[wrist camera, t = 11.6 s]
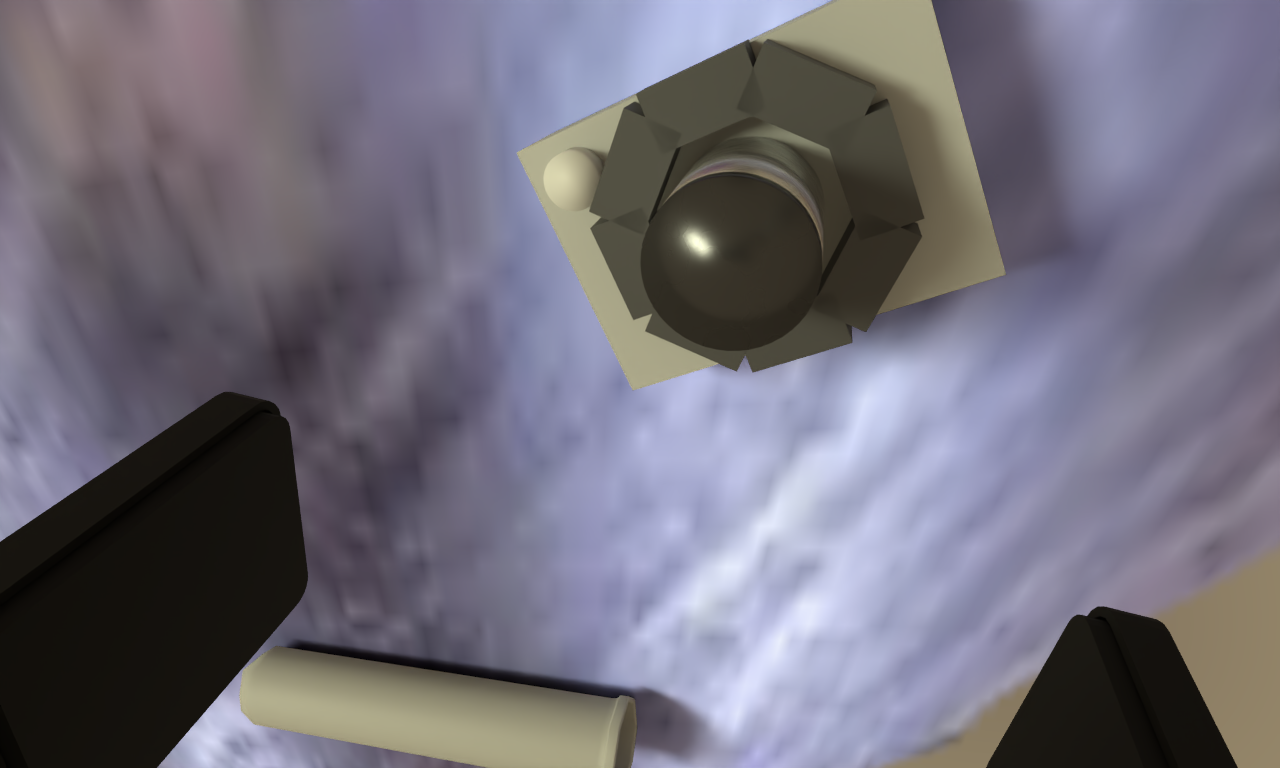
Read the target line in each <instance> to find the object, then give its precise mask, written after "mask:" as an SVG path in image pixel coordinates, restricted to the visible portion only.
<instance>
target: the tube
mask: <svg viewBox="0 0 1280 768" xmlns="http://www.w3.org/2000/svg"><path fill="white" fill-rule="evenodd" d="M239 696H240V704H241V711H242V712H243V713H244V714H245V715H246V716H247V717H248V719H249V720H250V721H251V722H252V723H253V724H255V725H261V726H266V727H272V728H277V729H282V730H288V731H293V732H299V733H304V734H309V735H315V736H320V737H326V738H331V739H336V740H342V741H347V742H353V743H358V744H364V745H369V746H374V747H380V748H385V749H391V750H396V751H401V752H407V753H412V754H418V755H423V756H428V757H434V758H439V759H445V760H450V761H456V762H461V763H466V764H472V765H477V766H483V767H488V768H631V766H632V762H633V755H634V748H635V741H636V733H637V719H636V707H635V699H634V698H631V697H629V696H622V695H620V696H619V697H618V698H607V697H601V696H594V695H588V694H581V693H575V692H569V691H562V690H556V689H549V688H543V687H537V686H530V685H524V684H517V683H511V682H504V681H498V680H492V679H485V678H479V677H472V676H466V675H460V674H453V673H447V672H440V671H434V670H427V669H421V668H415V667H408V666H402V665H395V664H389V663H383V662H376V661H370V660H363V659H357V658H350V657H344V656H338V655H331V654H325V653H318V652H312V651H306V650H299V649H293V648H286V647H280V646H275V647H273V648H272V649H270V650H269V651H267V652H265V653H264V654H262V655H261V656H260V657H259V658H257V659H256V660H255V661H254V662H253V663H251V664H250V665H249V666H248V667H247V668H245V669H244V670H243V674H242V681H241V688H240V695H239Z"/></svg>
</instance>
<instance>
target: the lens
mask: <svg viewBox="0 0 1280 768" xmlns="http://www.w3.org/2000/svg"><path fill="white" fill-rule="evenodd" d="M824 220H825V200H824V193H823V190H822V186H821V183H820V181H819V178H818V176H817V174H816V172H815V171H814V169H813V167H812V166H811V165H810V164H809V162H808V161H807V160H806V159H805V158H804V157H803V156H802V155H801V154H800V153H799V152H798V151H796V150H795V149H793V148H792V147H790V146H788V145H787V144H785V143H783V142H780V141H777V140H775V139H772V138H767V137H761V136H743V137H738V138H733V139H730V140H727V141H724V142H722V143H720V144H718V145H716V146H714V147H712V148H711V149H710V150H708V151H707V152H705V153H704V154H703V155H702V156H701V157H700V158H699V159H698V160H697V161H696V162H695V164H694V165H693V166H692V167H691V168H690V170H689V171H688V172H687V174H686V175H685V176H684V178H683V179H682V180H681V181H680V183H679V184H678V185H677V187H676V188H675V189H674V191H673V192H672V193H671V194H670V196H669V197H668V198H667V200H666V201H665V202H664V204H663V205H662V206H661V207H660V209H659V210H658V211H657V213H656V214H655V216H654V217H653V219H652V220H651V222H650V224H649V226H648V229H647V231H646V233H645V236H644V240H643V243H642V249H641V260H640V267H641V276H642V280H643V284H644V288H645V291H646V293H647V296H648V298H649V300H650V302H651V304H652V306H653V307H654V309H655V310H656V312H657V313H658V315H659V316H660V317H661V318H662V319H663V320H664V321H665V323H666V324H667V325H668V326H670V327H671V328H672V329H673V330H674V331H675V332H677V333H678V334H680V335H681V336H683V337H684V338H686V339H688V340H690V341H692V342H694V343H696V344H699V345H702V346H704V347H708V348H712V349H716V350H724V351H742V350H750V349H754V348H759V347H762V346H765V345H767V344H770V343H772V342H774V341H776V340H778V339H780V338H782V337H783V336H785V335H786V334H787V333H789V332H790V331H791V330H792V329H794V328H795V327H796V326H797V325H798V324H799V323H800V322H801V321H802V319H803V318H804V317H805V316H806V314H807V313H808V311H809V310H810V308H811V306H812V305H813V303H814V300H815V298H816V296H817V293H818V290H819V287H820V283H821V276H822V263H823V242H824Z"/></svg>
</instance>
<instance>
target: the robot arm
mask: <svg viewBox="0 0 1280 768" xmlns="http://www.w3.org/2000/svg"><path fill="white" fill-rule="evenodd" d="M307 581H308V571H307V563H306V555H305V546H304V538H303V530H302V522H301V514H300V505H299V497H298V489H297V481H296V473H295V464H294V456H293V448H292V440H291V432H290V426H289V422H288V421H287V420H286V418H284V417H282V416H281V415H280V411H279V409H278V407H277V406H276V405H275V404H274V403H272V402H270V401H266V400H262V399H258V398H254V397H250V396H246V395H242V394H238V393H234V392H223V393H221V394H219V395H217V396H215V397H214V398H212V399H211V400H209V401H208V402H206V403H205V404H203V405H202V406H200V407H199V408H197V409H196V410H194V411H193V412H191V413H190V414H188V415H187V416H186V417H184V418H183V419H181V420H180V421H178V422H177V423H175V424H174V425H172V426H171V427H169V428H168V429H166V430H165V431H163V432H162V433H160V434H159V435H157V436H156V437H154V438H153V439H151V440H150V441H149V442H147V443H146V444H144V445H143V446H141V447H140V448H138V449H137V450H135V451H134V452H132V453H131V454H129V455H128V456H126V457H125V458H123V459H122V460H120V461H119V462H117V463H116V464H115V465H113V466H112V467H110V468H109V469H107V470H106V471H104V472H103V473H101V474H100V475H98V476H97V477H95V478H94V479H92V480H91V481H89V482H88V483H86V484H85V485H83V486H82V487H81V488H79V489H78V490H76V491H75V492H73V493H72V494H70V495H69V496H67V497H66V498H64V499H63V500H61V501H60V502H58V503H57V504H55V505H54V506H52V507H51V508H49V509H48V510H46V511H45V512H44V513H42V514H41V515H39V516H38V517H36V518H35V519H33V520H32V521H30V522H29V523H27V524H26V525H24V526H23V527H21V528H20V529H18V530H17V531H15V532H14V533H12V534H11V535H10V536H8V537H7V538H5V539H4V540H2V541H1V542H0V768H157V767H158V766H159V765H160V764H161V762H162V761H163V760H164V759H165V758H166V757H167V755H168V754H169V753H170V752H171V751H172V750H173V748H174V747H175V746H176V745H177V744H178V743H179V741H180V740H181V739H182V738H183V737H184V736H185V734H186V733H187V732H188V731H189V730H190V729H191V727H192V726H193V725H194V724H195V723H196V722H197V720H198V719H199V718H200V717H201V716H202V715H203V714H204V712H205V711H206V710H207V709H208V708H209V707H210V705H211V704H212V703H213V702H214V701H215V700H216V698H217V697H218V696H219V695H220V694H221V693H222V691H223V690H224V689H225V688H226V687H227V686H228V684H229V683H230V682H231V681H232V680H233V679H234V677H235V676H236V675H237V674H238V673H239V672H240V670H241V669H242V668H243V667H244V666H245V665H246V664H247V662H248V661H249V660H250V659H251V658H252V657H253V655H254V654H255V653H256V652H257V651H258V650H259V648H260V647H261V646H262V645H263V644H264V643H265V641H266V640H267V639H268V638H269V637H270V636H271V634H272V633H273V632H274V631H275V630H276V629H277V627H278V626H279V625H280V624H281V623H282V622H283V620H284V619H285V618H286V617H287V616H288V615H289V614H290V612H291V611H292V610H293V609H294V608H295V607H296V605H297V604H298V603H299V601H300V600H301V598H302V596H303V594H304V592H305V589H306V586H307ZM986 768H1238V767H1237V765H1236V763H1235V761H1234V759H1233V757H1232V755H1231V753H1230V752H1229V749H1228V748H1227V745H1226V743H1225V742H1224V739H1223V738H1222V735H1221V733H1220V732H1219V730H1218V728H1217V726H1216V724H1215V722H1214V720H1213V718H1212V716H1211V714H1210V712H1209V710H1208V708H1207V706H1206V704H1205V702H1204V700H1203V698H1202V696H1201V694H1200V692H1199V690H1198V688H1197V686H1196V684H1195V682H1194V680H1193V678H1192V676H1191V674H1190V672H1189V670H1188V668H1187V666H1186V664H1185V662H1184V660H1183V658H1182V656H1181V654H1180V652H1179V650H1178V648H1177V646H1176V644H1175V642H1174V640H1173V638H1172V636H1171V634H1170V632H1169V631H1168V629H1167V628H1166V627H1165V625H1164V624H1163V623H1162V622H1160V621H1159V620H1157V619H1153V618H1149V617H1145V616H1141V615H1137V614H1133V613H1128V612H1124V611H1120V610H1116V609H1112V608H1108V607H1096V608H1095V609H1093V610H1092V611H1091V612H1090V613H1089V614H1088V616H1084V615H1076V616H1074V617H1072V619H1071V620H1070V621H1069V623H1068V624H1067V626H1066V628H1065V630H1064V631H1063V633H1062V635H1061V637H1060V638H1059V640H1058V642H1057V644H1056V645H1055V647H1054V649H1053V651H1052V652H1051V654H1050V656H1049V658H1048V659H1047V661H1046V663H1045V665H1044V666H1043V668H1042V670H1041V672H1040V673H1039V675H1038V677H1037V679H1036V680H1035V682H1034V684H1033V686H1032V687H1031V689H1030V691H1029V693H1028V694H1027V696H1026V698H1025V699H1024V701H1023V703H1022V705H1021V706H1020V709H1019V710H1018V712H1017V713H1016V715H1015V717H1014V719H1013V720H1012V722H1011V724H1010V726H1009V727H1008V730H1007V731H1006V733H1005V734H1004V736H1003V738H1002V740H1001V741H1000V743H999V745H998V747H997V748H996V750H995V752H994V754H993V755H992V757H991V759H990V761H989V763H988V765H987V767H986Z"/></svg>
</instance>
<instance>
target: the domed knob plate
mask: <svg viewBox="0 0 1280 768" xmlns="http://www.w3.org/2000/svg"><path fill="white" fill-rule="evenodd" d="M743 136H761V137H767V138H772V139H775V140H777V141H780V142H783V143H785V144H787V145H788V146H790V147H792V148H793V149H795V150H796V151H798V152H799V153H800V154H801V155H802V156H803V157H804V158H805V159H806V160H807V161H808V162H809V164H810V165H811V166H812V167H813V169H814V171H815V172H816V174H817V176H818V178H819V181H820V183H821V186H822V190H823V193H824V200H825V220H824V242H823V263H822V276H821V283H820V287H819V290H818V293H817V296H816V298H815V300H814V303H813V305H812V306H811V308H810V310H809V311H808V313H807V314H806V316H805V317H804V318H803V319H802V321H801V322H800V323H799V324H798V325H797V326H796V327H795V328H794V329H792V330H791V331H790V332H789V333H787V334H786V335H785V336H783V337H782V338H780V339H778V340H776V341H774V342H772V343H770V344H767V345H765V346H762V347H759V348H754V349H750V350H742V351H724V350H716V349H712V348H708V347H704V346H702V345H699V344H696V343H694V342H692V341H690V340H688V339H686V338H684V337H683V336H681V335H680V334H678V333H677V332H675V331H674V330H673V329H672V328H671V327H670V326H668V325H667V324H666V323H665V321H664V320H663V319H662V318H661V317H660V316H659V315H658V313H657V312H656V310H655V309H654V307H653V306H652V304H651V302H650V300H649V298H648V296H647V293H646V291H645V288H644V284H643V280H642V276H641V267H640V260H641V249H642V243H643V240H644V236H645V233H646V231H647V229H648V226H649V224H650V222H651V220H652V219H653V217H654V216H655V214H656V213H657V211H658V210H659V209H660V207H661V206H662V205H663V204H664V202H665V201H666V200H667V198H668V197H669V196H670V194H671V193H672V192H673V191H674V189H675V188H676V187H677V185H678V184H679V183H680V181H681V180H682V179H683V178H684V176H685V175H686V174H687V172H688V171H689V170H690V168H691V167H692V166H693V165H694V164H695V162H696V161H697V160H698V159H699V158H700V157H701V156H702V155H703V154H704V153H705V152H707V151H708V150H710V149H711V148H712V147H714V146H716V145H718V144H720V143H722V142H724V141H727V140H730V139H733V138H738V137H743ZM517 155H518V157H519V159H520V161H521V163H522V165H523V167H524V169H525V171H526V173H527V175H528V177H529V179H530V181H531V183H532V185H533V187H534V189H535V191H536V193H537V195H538V198H539V200H540V202H541V204H542V206H543V208H544V210H545V212H546V214H547V216H548V218H549V220H550V222H551V224H552V226H553V228H554V230H555V232H556V234H557V236H558V238H559V240H560V243H561V245H562V247H563V249H564V251H565V253H566V255H567V257H568V259H569V261H570V263H571V265H572V267H573V269H574V271H575V273H576V275H577V277H578V279H579V281H580V283H581V285H582V287H583V290H584V292H585V294H586V296H587V298H588V300H589V302H590V304H591V306H592V308H593V310H594V312H595V314H596V316H597V318H598V320H599V322H600V324H601V326H602V328H603V330H604V332H605V334H606V337H607V339H608V341H609V343H610V345H611V347H612V349H613V351H614V353H615V355H616V357H617V359H618V361H619V363H620V365H621V367H622V369H623V371H624V373H625V375H626V377H627V379H628V381H629V384H630V386H631V388H632V390H636V389H639V388H642V387H646V386H649V385H652V384H655V383H659V382H662V381H665V380H668V379H671V378H675V377H678V376H681V375H684V374H688V373H691V372H694V371H697V370H700V369H704V368H707V367H710V366H713V365H717V364H721V365H723V366H725V367H728V368H730V369H732V370H734V371H737V370H738V368H739V366H740V364H741V362H742V360H743V358H744V356H746V357H747V360H748V362H749V365H750V367H751V369H752V372H756V371H759V370H763V369H766V368H769V367H773V366H776V365H779V364H783V363H786V362H789V361H793V360H796V359H799V358H803V357H806V356H809V355H813V354H816V353H819V352H823V351H826V350H829V349H833V348H836V347H839V346H843V345H846V344H849V343H852V326H853V327H855V328H858V329H860V330H862V331H865V332H866V331H867V330H868V328H869V326H870V325H871V323H872V321H873V320H874V318H875V316H876V315H878V314H881V313H884V312H887V311H891V310H894V309H897V308H900V307H903V306H907V305H910V304H913V303H916V302H920V301H923V300H926V299H929V298H932V297H936V296H939V295H942V294H945V293H949V292H952V291H955V290H958V289H961V288H965V287H968V286H971V285H974V284H978V283H981V282H984V281H987V280H991V279H994V278H997V277H1000V276H1003V275H1006V273H1005V269H1004V266H1003V262H1002V258H1001V255H1000V251H999V247H998V244H997V240H996V236H995V233H994V229H993V225H992V222H991V218H990V214H989V211H988V207H987V203H986V200H985V196H984V192H983V189H982V185H981V181H980V178H979V174H978V170H977V167H976V163H975V159H974V156H973V152H972V148H971V145H970V141H969V137H968V134H967V130H966V126H965V123H964V119H963V115H962V112H961V108H960V104H959V100H958V97H957V93H956V89H955V86H954V82H953V78H952V75H951V71H950V67H949V64H948V60H947V56H946V53H945V49H944V45H943V42H942V38H941V34H940V31H939V27H938V23H937V20H936V16H935V12H934V9H933V5H932V1H931V0H833V1H830V2H828V3H826V4H824V5H822V6H820V7H818V8H816V9H814V10H811V11H809V12H807V13H805V14H803V15H801V16H799V17H797V18H795V19H792V20H790V21H788V22H786V23H784V24H782V25H780V26H778V27H776V28H773V29H771V30H769V31H767V32H765V33H763V34H761V35H759V36H757V37H754V38H752V39H750V40H746V41H744V42H742V43H740V44H738V45H736V46H734V47H732V48H730V49H727V50H725V51H723V52H721V53H719V54H717V55H715V56H713V57H711V58H708V59H706V60H704V61H702V62H700V63H698V64H696V65H694V66H692V67H689V68H687V69H685V70H683V71H681V72H679V73H677V74H675V75H673V76H670V77H668V78H666V79H664V80H662V81H660V82H658V83H656V84H654V85H651V86H649V87H647V88H645V89H644V90H642V91H640V92H638V93H636V94H634V95H632V96H630V97H628V98H626V99H624V100H621V101H619V102H617V103H615V104H613V105H611V106H609V107H607V108H605V109H602V110H600V111H598V112H596V113H594V114H592V115H590V116H588V117H586V118H583V119H581V120H579V121H577V122H575V123H573V124H571V125H569V126H567V127H564V128H562V129H560V130H558V131H556V132H554V133H552V134H550V135H548V136H546V137H545V138H543V139H541V140H539V141H537V142H535V143H534V144H532V145H530V146H528V147H526V148H524V149H523V150H521V151H519V152H517Z"/></svg>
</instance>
